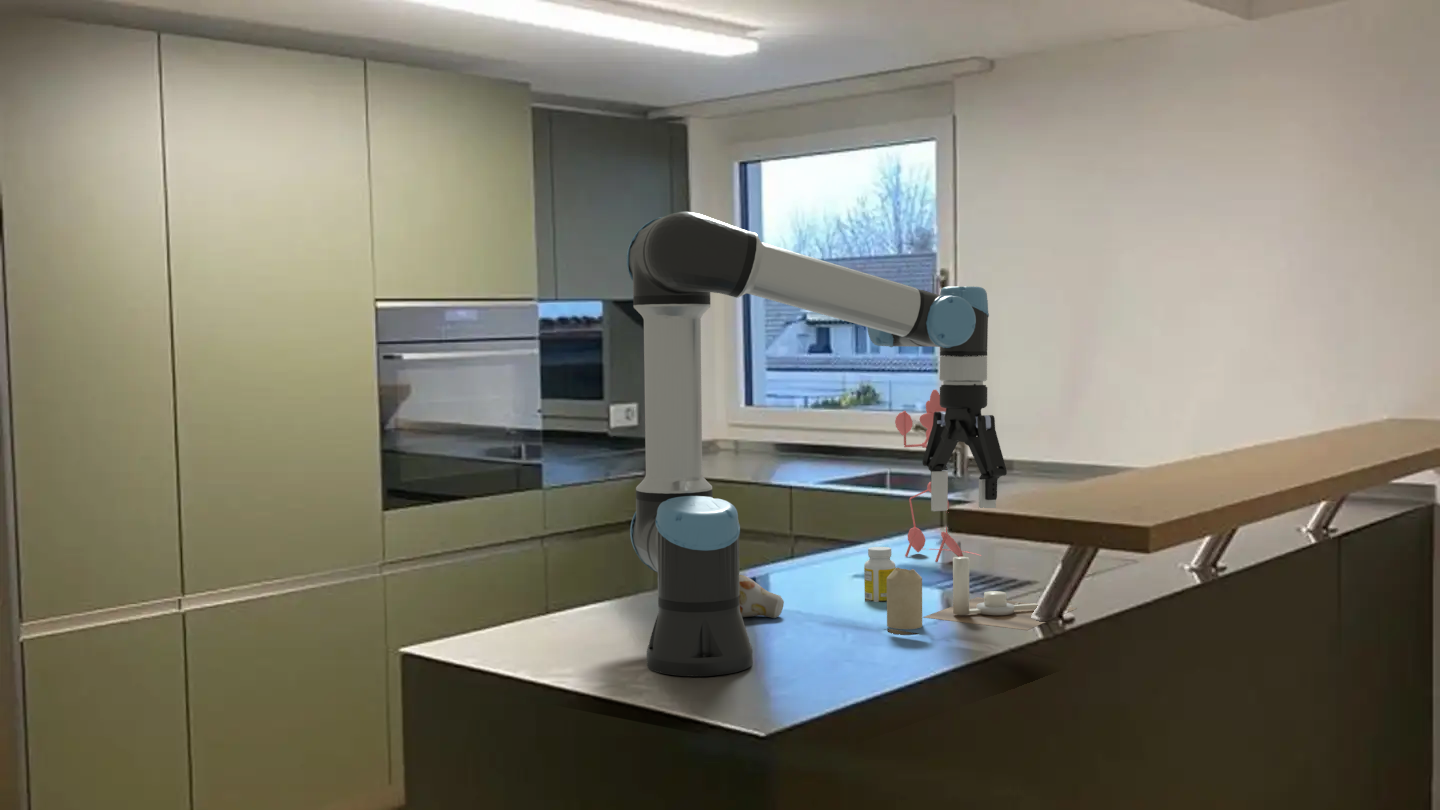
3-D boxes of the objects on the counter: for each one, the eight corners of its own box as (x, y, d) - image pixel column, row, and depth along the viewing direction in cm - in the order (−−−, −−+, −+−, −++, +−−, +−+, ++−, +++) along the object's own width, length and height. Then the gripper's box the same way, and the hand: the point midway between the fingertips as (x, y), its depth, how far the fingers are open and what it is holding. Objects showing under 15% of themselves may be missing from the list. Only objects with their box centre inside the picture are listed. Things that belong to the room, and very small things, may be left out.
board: (1027, 636, 214) (1027, 628, 214) (922, 623, 225) (922, 615, 225) (1077, 614, 230) (1077, 606, 230) (977, 602, 241) (977, 595, 241)
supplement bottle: (900, 602, 242) (899, 546, 242) (890, 608, 237) (890, 551, 237) (870, 600, 245) (869, 545, 244) (860, 606, 240) (859, 549, 239)
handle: (961, 617, 222) (961, 561, 222) (946, 610, 228) (946, 555, 228) (1046, 612, 226) (1045, 556, 226) (1029, 605, 232) (1028, 551, 231)
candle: (928, 630, 220) (928, 567, 219) (912, 636, 215) (912, 572, 215) (897, 626, 223) (896, 564, 222) (880, 633, 218) (880, 569, 218)
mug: (786, 623, 228) (755, 572, 226) (736, 645, 231) (706, 595, 230) (794, 603, 235) (765, 554, 233) (746, 625, 238) (716, 577, 237)
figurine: (962, 568, 276) (964, 391, 275) (876, 552, 297) (877, 388, 296) (1016, 561, 285) (1018, 390, 284) (929, 547, 306) (931, 387, 305)
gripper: (1030, 385, 213) (1029, 523, 214) (940, 380, 236) (939, 505, 237) (989, 386, 210) (988, 526, 211) (902, 381, 233) (901, 508, 234)
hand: (962, 515), depth 224 cm, fingers open, 13 cm apart
